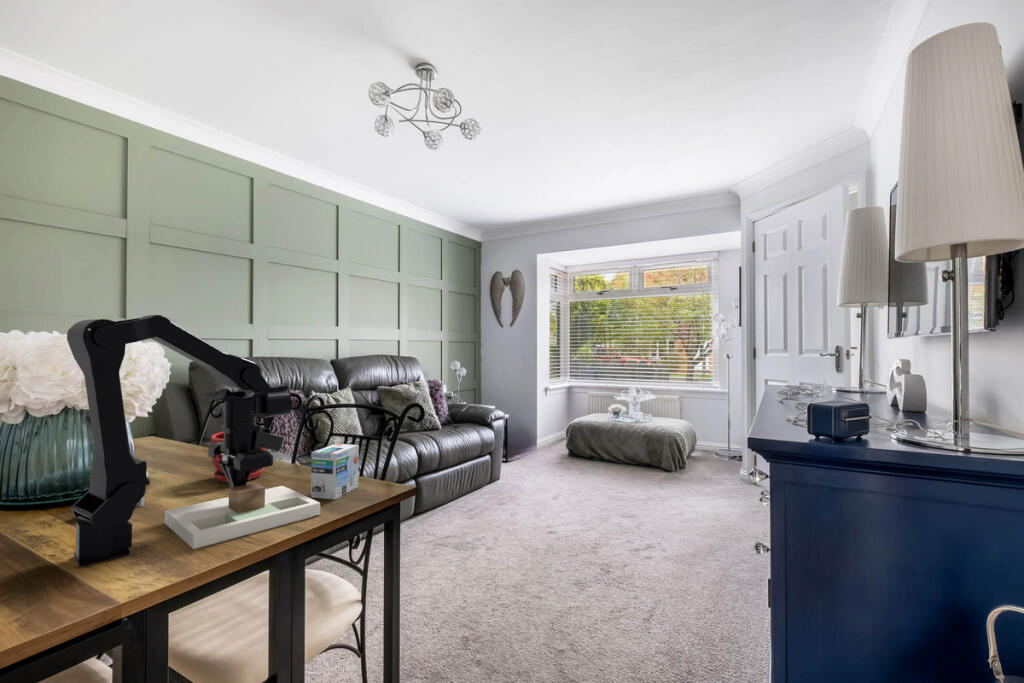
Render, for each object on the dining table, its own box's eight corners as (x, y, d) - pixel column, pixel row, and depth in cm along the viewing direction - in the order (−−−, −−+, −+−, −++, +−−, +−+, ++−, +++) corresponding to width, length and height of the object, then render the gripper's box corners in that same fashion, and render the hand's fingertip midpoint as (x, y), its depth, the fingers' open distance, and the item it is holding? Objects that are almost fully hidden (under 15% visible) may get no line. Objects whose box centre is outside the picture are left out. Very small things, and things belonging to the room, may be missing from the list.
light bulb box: (335, 500, 110) (336, 453, 110) (309, 498, 111) (310, 451, 112) (359, 487, 121) (360, 444, 121) (335, 485, 122) (335, 442, 122)
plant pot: (202, 478, 127) (203, 433, 127) (255, 469, 137) (256, 427, 137) (220, 488, 118) (220, 439, 118) (275, 477, 128) (275, 432, 128)
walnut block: (238, 513, 94) (238, 493, 94) (228, 507, 97) (228, 487, 97) (264, 507, 98) (265, 487, 98) (254, 501, 101) (254, 482, 101)
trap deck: (193, 549, 83) (193, 534, 83) (164, 523, 95) (164, 510, 95) (320, 514, 101) (320, 502, 101) (282, 496, 112) (282, 485, 112)
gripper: (299, 421, 100) (298, 496, 100) (261, 412, 112) (260, 479, 112) (241, 428, 92) (240, 509, 92) (207, 417, 104) (206, 489, 104)
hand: (239, 495), depth 100 cm, fingers closed
